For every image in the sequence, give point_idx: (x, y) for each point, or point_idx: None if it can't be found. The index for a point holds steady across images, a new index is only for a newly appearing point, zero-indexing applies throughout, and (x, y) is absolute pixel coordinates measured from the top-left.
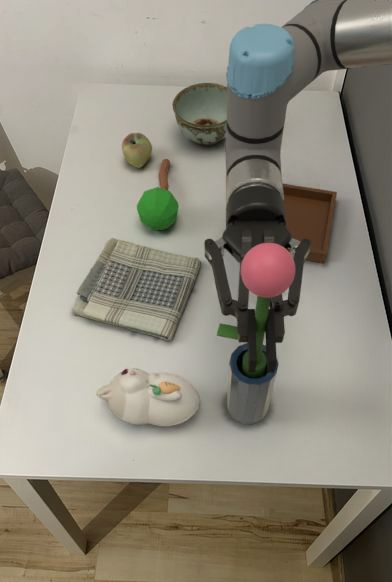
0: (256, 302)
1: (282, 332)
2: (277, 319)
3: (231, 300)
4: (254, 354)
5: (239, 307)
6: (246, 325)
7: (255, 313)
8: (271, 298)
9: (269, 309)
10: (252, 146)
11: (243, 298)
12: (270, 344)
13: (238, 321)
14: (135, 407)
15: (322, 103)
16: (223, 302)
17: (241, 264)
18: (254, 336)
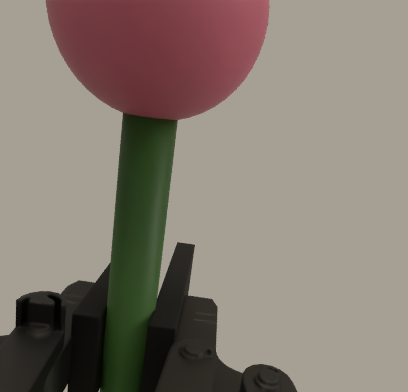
0: (165, 223)
1: (75, 287)
2: (69, 314)
3: (245, 373)
4: (180, 249)
5: (209, 344)
6: (186, 315)
7: (158, 284)
8: (47, 368)
9: (90, 314)
10: None
11: (187, 373)
12: None
13: (213, 329)
14: None
15: None
16: (281, 371)
17: (268, 3)
18: (171, 272)
